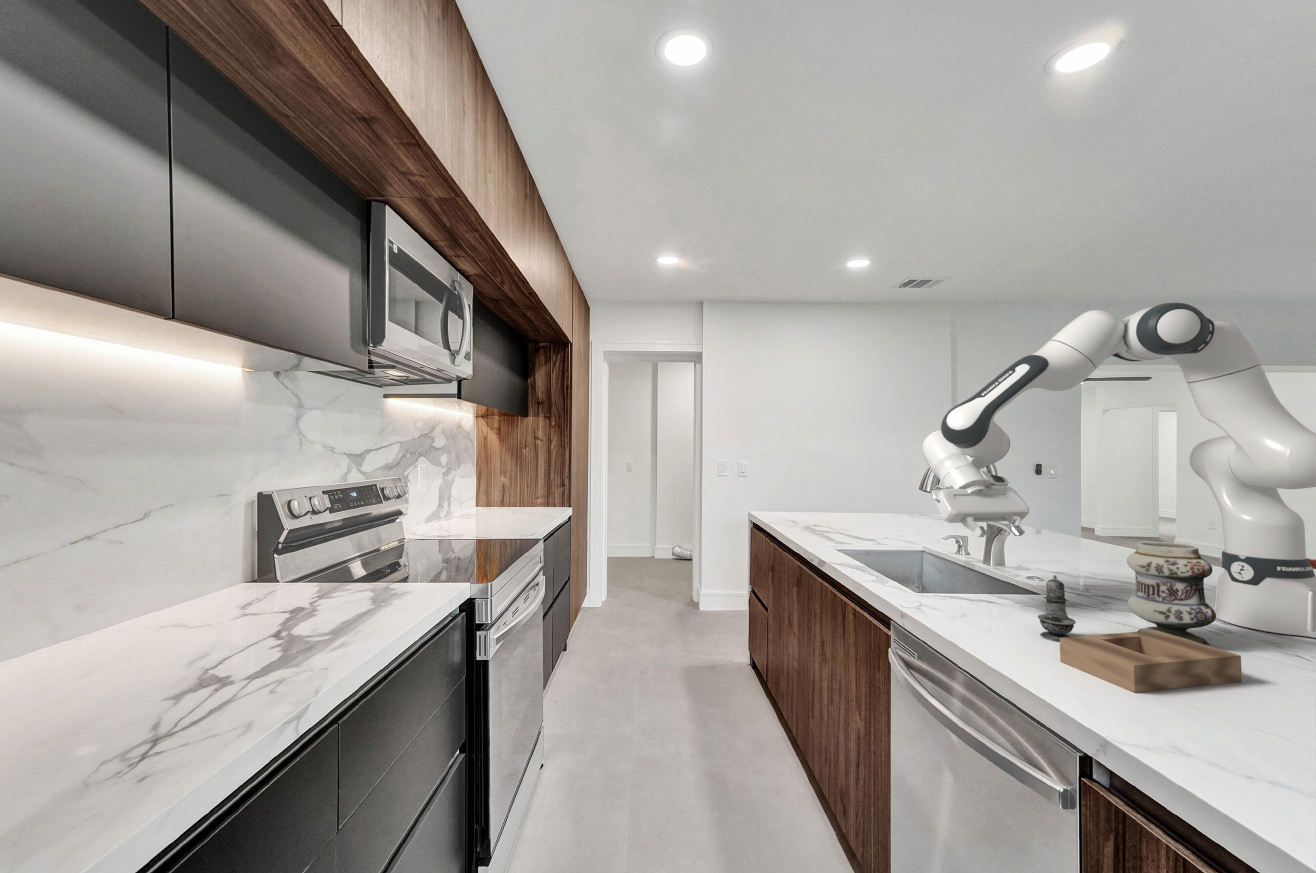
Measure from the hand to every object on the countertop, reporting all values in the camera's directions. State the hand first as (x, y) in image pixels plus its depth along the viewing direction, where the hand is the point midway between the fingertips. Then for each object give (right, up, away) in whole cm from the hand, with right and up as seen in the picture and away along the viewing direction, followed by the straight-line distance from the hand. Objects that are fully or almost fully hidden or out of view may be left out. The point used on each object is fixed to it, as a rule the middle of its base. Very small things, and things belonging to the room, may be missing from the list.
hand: (1001, 534), depth 115 cm
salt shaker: (+2, -18, -13) cm, 22 cm away
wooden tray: (+5, -17, -29) cm, 34 cm away
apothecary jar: (+23, -17, -14) cm, 32 cm away
